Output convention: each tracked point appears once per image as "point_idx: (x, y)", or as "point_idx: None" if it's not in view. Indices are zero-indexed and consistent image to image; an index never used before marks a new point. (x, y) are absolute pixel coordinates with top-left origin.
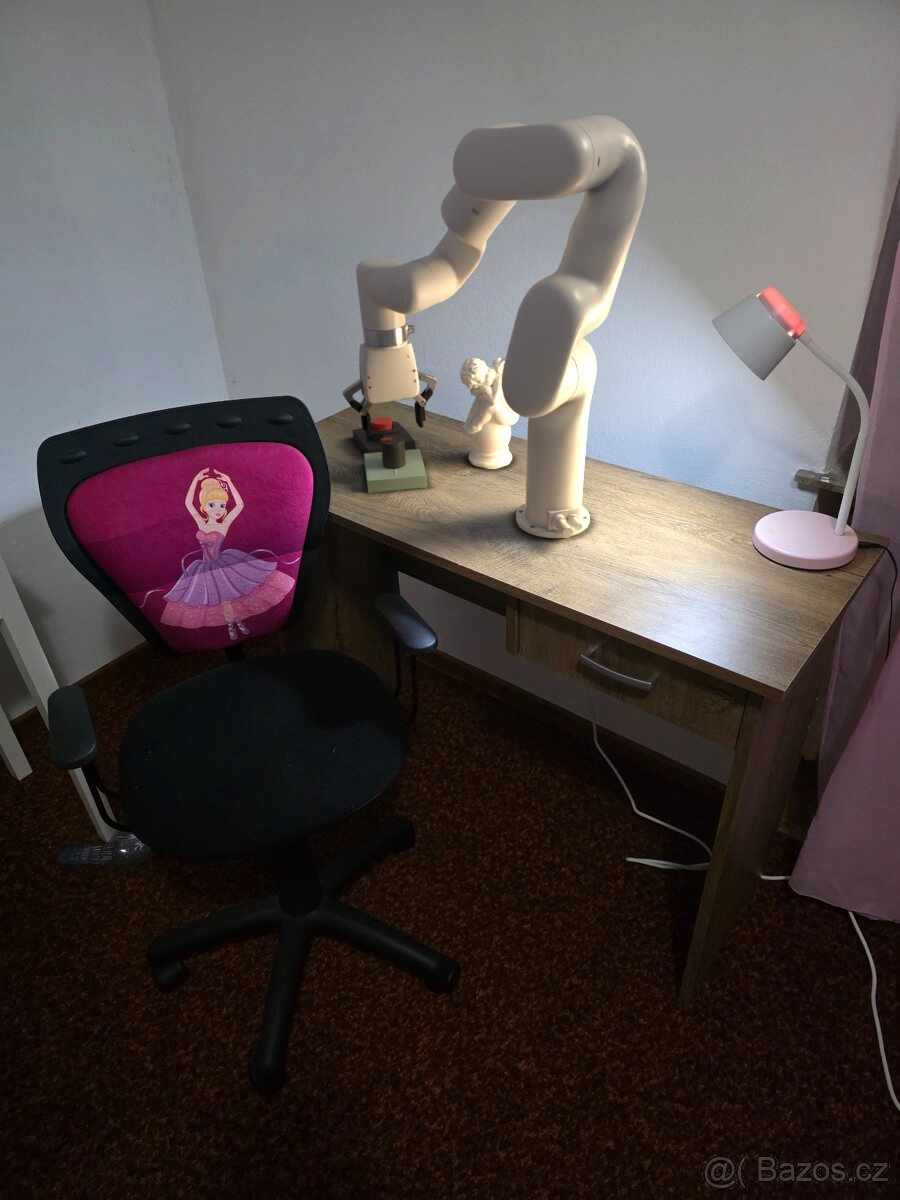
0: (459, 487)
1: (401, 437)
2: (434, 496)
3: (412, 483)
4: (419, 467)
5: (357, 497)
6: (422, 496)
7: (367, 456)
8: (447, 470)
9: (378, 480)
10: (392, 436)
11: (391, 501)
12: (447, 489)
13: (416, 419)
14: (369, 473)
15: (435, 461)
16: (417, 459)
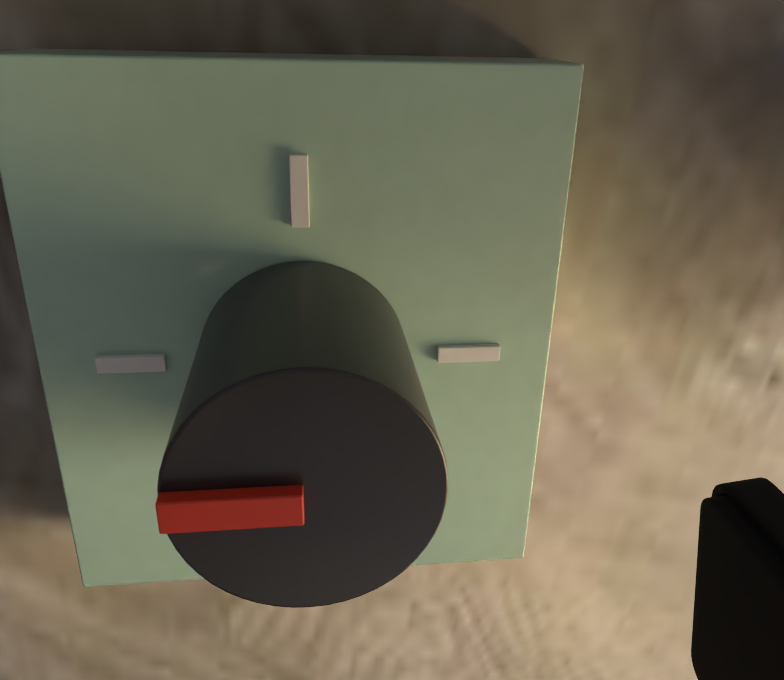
0: (685, 517)
1: (423, 463)
2: (518, 594)
3: None
4: (502, 441)
5: (37, 563)
6: (451, 588)
7: (28, 141)
8: (695, 286)
9: (172, 577)
10: (313, 415)
11: (263, 622)
12: (611, 530)
13: (732, 586)
14: (89, 483)
15: (660, 106)
16: (515, 301)
